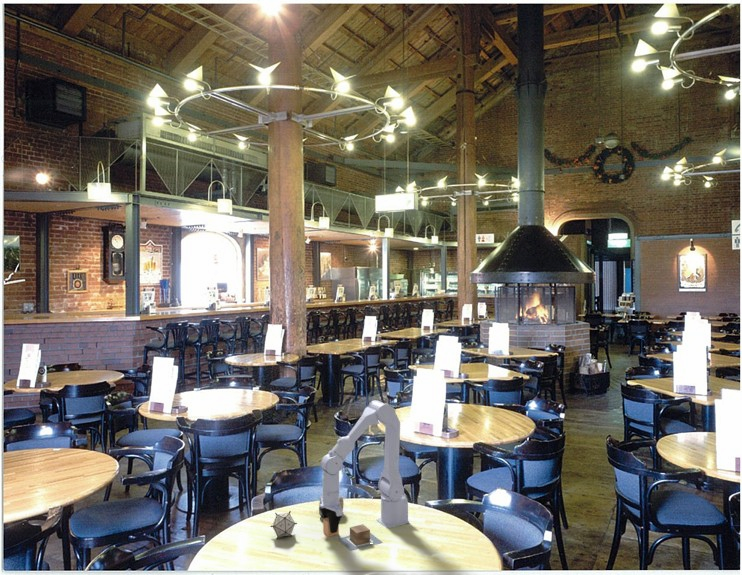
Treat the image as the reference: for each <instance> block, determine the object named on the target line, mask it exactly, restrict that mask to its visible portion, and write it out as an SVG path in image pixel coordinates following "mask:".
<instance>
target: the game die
mask: <svg viewBox="0 0 742 575" xmlns="http://www.w3.org/2000/svg"><path fill="white" fill-rule="evenodd" d="M291 511H292V510H289V512H287V513H279V514H278V512H275V513H274V514H275V518H274V521H273V523H272V525H270V526H269V527H270V528H272V530H274V533H275V535H276V536H277V537H276V540H278V539H279V538H280V537H282V538H283V537H288V536H290V538H291V537H293V535H292V534H293V530H294V528H295V525H297V524H298V522H296V521H294V518H293V517H292V515H291Z"/></svg>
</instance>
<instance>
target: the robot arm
mask: <svg viewBox="0 0 742 575" xmlns="http://www.w3.org/2000/svg"><path fill="white" fill-rule="evenodd" d="M380 423H381V424H382V426H384V427H385V428H384V452H383V454H384V455H383V457H384V459H383V470H381V472H380V478H379V480H378V484H377V487H378V490H379V492H380V518H376V522H378V523H379V524H381V525H382V526H384V528H386V529H390V528H394V527H398V526H401V525H406V524H410V521H409V504H408V499H407V498H406V496H405V495H404V493H405V487H404V485H403V478H402V477H401V476H402V475H401V474H400V471H399V468H400V443H401V442H400V440H401V439H400V438H401V422H400V419H399V416H398V415H397V411H396V409H395V408H394V407H392V406H391V405H389V404H387V403H385V402H382V401H381V400H378V399H377V400H376V399H375V400H372V401H370V402H369V404H368V406H366V407H365V408H364V409H363V412H362V414H361V416H360V418H359V419H358V420H357V421H356V423H355V424H354V425H353V427H352V428H351V430H349V432H348V434H347V435H346V436H342V437H340V438H338V439H337V440H336V442H337V443H335V445H334V446H333V448H331V450H329V451H328V453H327V454H325V455H323V457H322V458H321V461H320V462H319V464H320V467H321V468H322V494H323V496H322V495H321V496H322V497H321V496H319V503H322V504H320V507H319V506H318V510H319V509H320V511H321V513H322V516H321V517H322V519H323V518H328V519H329V525H330V532H331V533H335V532H337V530H338V525H339V526H340V521H341V519H342V517H343V516H344V509H343V510H342V508H341V505H340V502H339V497H340V471H342V468H343V464H344V462H345V461H346V459H347V457H348V456H349V455H350V454H351V453H352V451H353V450H354V449H355V442H356V441H357V440H358V439H359V438H360V437H361V436H362V435H363V434H364V432H365V431H366V430H368V428H369V426H374V425H378V424H380Z"/></svg>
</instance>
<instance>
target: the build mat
mask: <svg viewBox="0 0 742 575" xmlns="http://www.w3.org/2000/svg"><path fill="white" fill-rule="evenodd" d="M337 541H339V542H341V544H342V545H343V546H345V547H346V548H347V550H349V551H350V552H352V551H356V550H360V549H365V548H368V547H371V546H376V545H379V544H383V543H384V542H383V541H382V540H380V539H379V538H378V537H377V536H375V534H373V533H371V532H370V542H368V543H364V544H360V545H356V544H355V543H354V542H352V541H351V540H350V535H348V536H347V535H346V536H343V537H339V538H337ZM370 543H373V544H370Z"/></svg>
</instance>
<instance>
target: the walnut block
mask: <svg viewBox="0 0 742 575" xmlns="http://www.w3.org/2000/svg"><path fill="white" fill-rule="evenodd" d="M370 533H371V529H370V528H369V527H367V526H366V525H365V524H362V523H361V524H359V525H354V526H350V527H349V536H350V540H351V541H352V542H354V543H355V544H356V545H360V544H364V543H368V542H370Z"/></svg>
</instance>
